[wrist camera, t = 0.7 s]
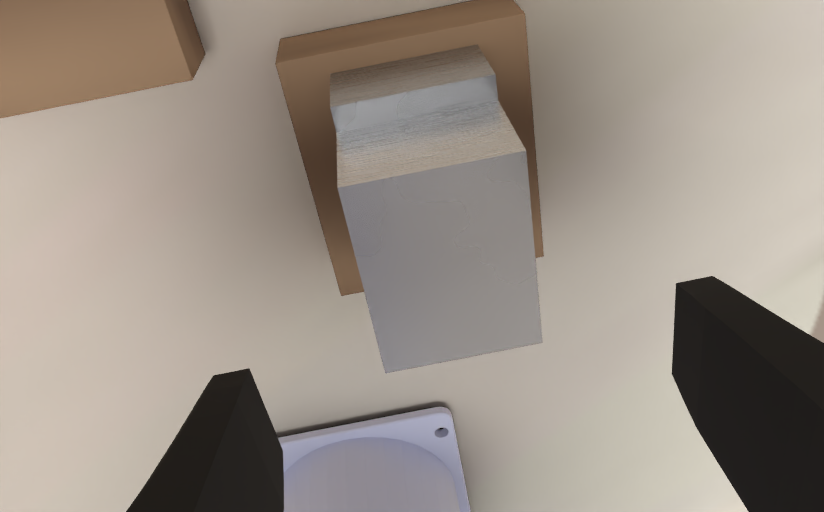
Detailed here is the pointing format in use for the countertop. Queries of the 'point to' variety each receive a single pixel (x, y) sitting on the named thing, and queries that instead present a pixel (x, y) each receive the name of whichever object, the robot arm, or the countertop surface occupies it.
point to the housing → (436, 207)
